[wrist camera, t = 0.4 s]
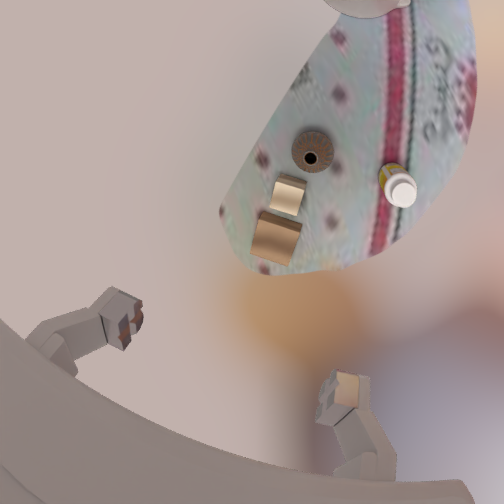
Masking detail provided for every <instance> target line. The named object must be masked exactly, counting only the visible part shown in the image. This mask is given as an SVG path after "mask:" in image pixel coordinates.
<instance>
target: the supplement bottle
mask: <svg viewBox="0 0 504 504" xmlns="http://www.w3.org/2000/svg"><path fill="white" fill-rule="evenodd" d="M378 180H379V183H380V186H381V188H382V190H383V192H384V194H385V196H386V198H387V200H388V201H389V202H390V203H391V204H393V205H395V206H398V207H402V208H406V207H409V206H411V205H412V204H413V203H414V202H415V199H416V195H417V185H416V182H415V181H414V179H413V178H412V177H411V176H410V174H409V173H408V172H407V171H406V170H405V169H404V168H403V167H402V166H401V165H399V164H397V163H387V164H385V165H384V166H383V167H382V168H381V169H380V171H379V175H378Z"/></svg>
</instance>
